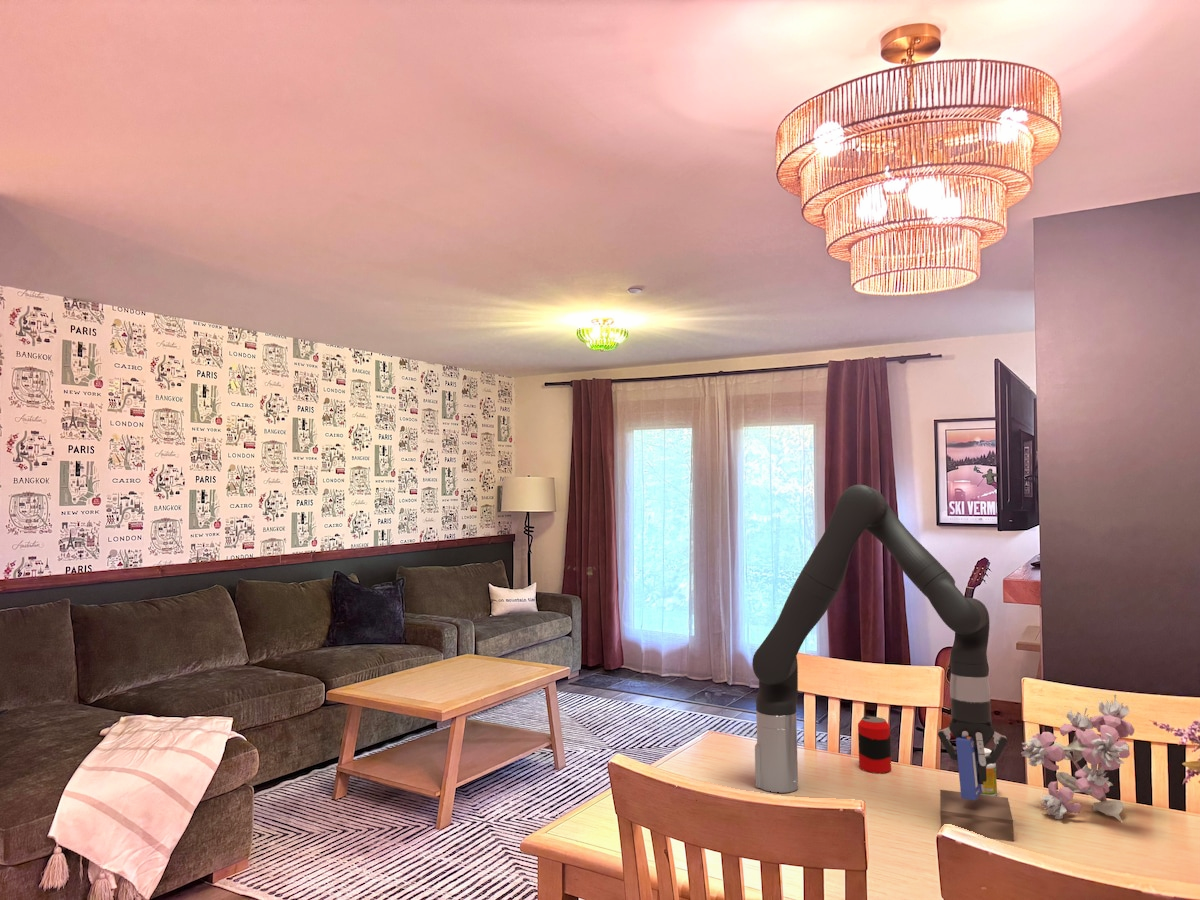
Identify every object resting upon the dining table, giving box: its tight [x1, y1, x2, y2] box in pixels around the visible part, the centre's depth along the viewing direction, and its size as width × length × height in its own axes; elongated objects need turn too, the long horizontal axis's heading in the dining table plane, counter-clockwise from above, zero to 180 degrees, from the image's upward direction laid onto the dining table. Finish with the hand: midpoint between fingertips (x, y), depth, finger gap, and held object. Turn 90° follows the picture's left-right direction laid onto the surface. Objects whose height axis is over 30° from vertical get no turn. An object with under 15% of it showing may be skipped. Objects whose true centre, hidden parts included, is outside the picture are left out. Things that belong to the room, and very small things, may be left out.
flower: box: [1020, 694, 1135, 822], centre depth 169 cm, size 20×22×25 cm
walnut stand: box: [939, 789, 1015, 842], centre depth 163 cm, size 13×13×4 cm
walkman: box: [955, 736, 983, 800], centre depth 164 cm, size 8×3×12 cm, turn 143°
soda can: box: [857, 716, 892, 774], centre depth 198 cm, size 8×8×12 cm
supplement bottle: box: [981, 747, 998, 796], centre depth 180 cm, size 5×5×10 cm
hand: (973, 781), depth 163 cm, fingers closed on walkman, 2 cm apart
